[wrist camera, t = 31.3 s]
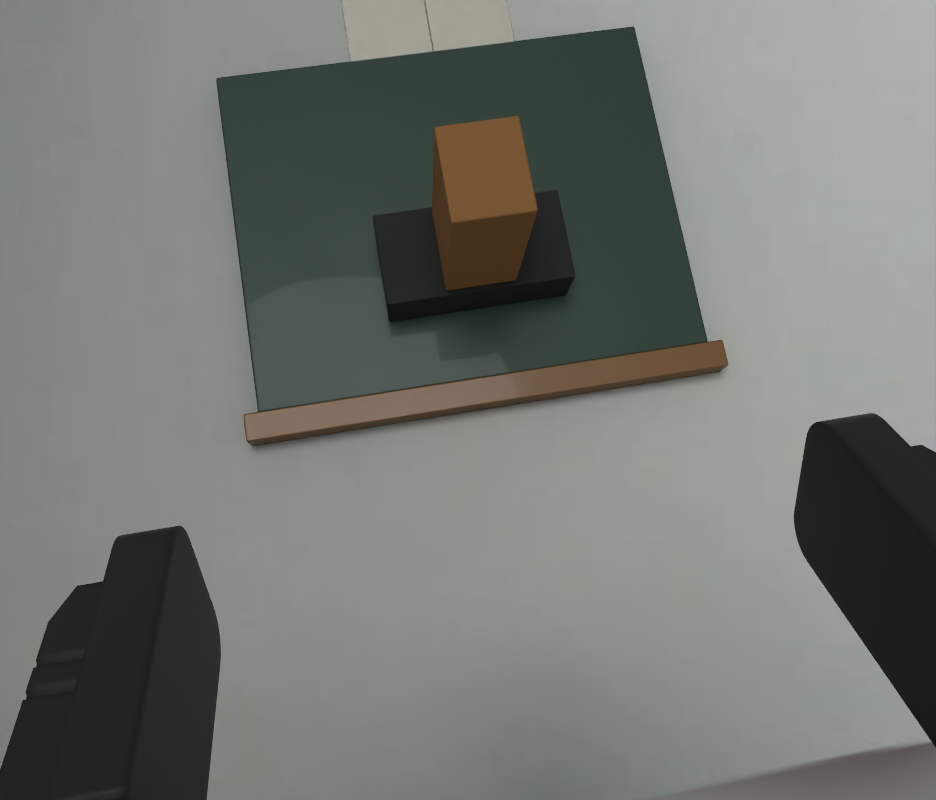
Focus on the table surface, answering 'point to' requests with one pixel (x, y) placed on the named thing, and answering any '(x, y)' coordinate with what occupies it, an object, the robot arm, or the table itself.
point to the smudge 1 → (385, 28)
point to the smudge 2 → (468, 23)
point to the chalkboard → (410, 187)
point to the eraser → (475, 230)
